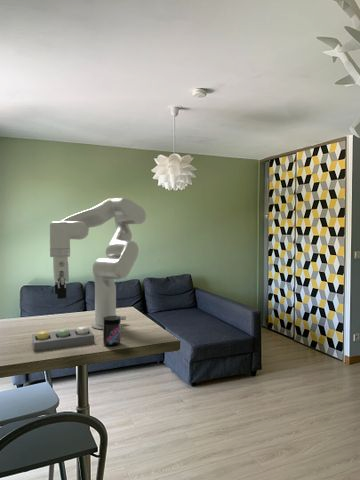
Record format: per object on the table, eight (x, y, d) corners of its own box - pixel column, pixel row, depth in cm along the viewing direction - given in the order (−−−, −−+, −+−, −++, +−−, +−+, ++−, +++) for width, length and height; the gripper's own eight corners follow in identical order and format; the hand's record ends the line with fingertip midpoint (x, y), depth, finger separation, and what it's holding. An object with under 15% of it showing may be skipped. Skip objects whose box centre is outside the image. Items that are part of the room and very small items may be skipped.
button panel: (88, 334, 148) (88, 327, 148) (94, 342, 138) (94, 335, 138) (32, 341, 138) (32, 334, 138) (34, 351, 128) (34, 343, 128)
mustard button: (48, 336, 138) (48, 330, 137) (49, 340, 134) (49, 333, 134) (36, 338, 136) (36, 331, 136) (37, 341, 132) (37, 335, 132)
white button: (86, 331, 144) (86, 326, 144) (89, 335, 140) (89, 328, 140) (75, 333, 142) (75, 327, 142) (77, 336, 138) (77, 330, 138)
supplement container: (102, 347, 133) (102, 320, 132) (103, 341, 139) (103, 315, 139) (120, 346, 134) (120, 320, 133) (120, 340, 140) (120, 315, 140)
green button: (68, 334, 141) (68, 328, 141) (69, 337, 137) (69, 331, 137) (56, 335, 139) (56, 329, 139) (58, 338, 135) (58, 332, 135)
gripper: (73, 254, 130) (73, 299, 131) (67, 251, 146) (67, 291, 147) (51, 255, 127) (52, 301, 128) (48, 251, 143) (48, 292, 144)
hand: (60, 295), depth 137 cm, fingers open, 9 cm apart
